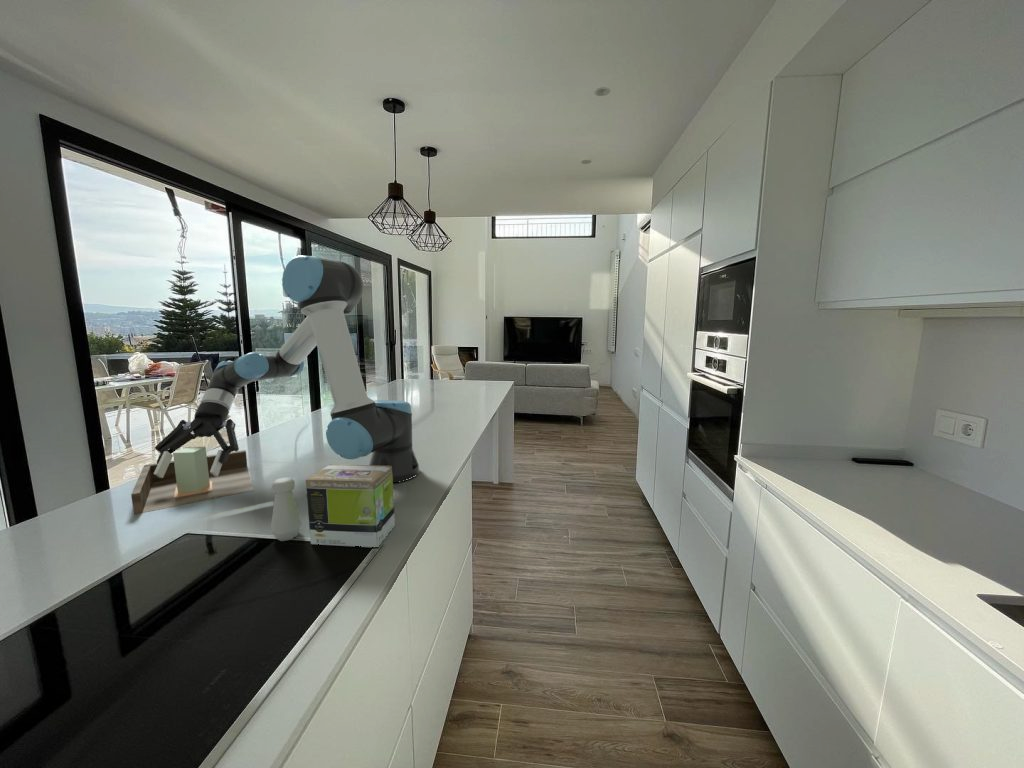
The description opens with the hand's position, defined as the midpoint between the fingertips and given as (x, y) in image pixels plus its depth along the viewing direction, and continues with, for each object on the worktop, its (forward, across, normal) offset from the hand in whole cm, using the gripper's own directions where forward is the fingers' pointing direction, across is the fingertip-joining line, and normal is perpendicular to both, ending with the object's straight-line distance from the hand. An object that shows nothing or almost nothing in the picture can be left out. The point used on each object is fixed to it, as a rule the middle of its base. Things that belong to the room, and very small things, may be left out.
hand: (186, 475), depth 108 cm
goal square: (+2, 0, -5) cm, 6 cm away
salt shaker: (+21, -35, +12) cm, 43 cm away
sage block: (+2, 0, -5) cm, 5 cm away
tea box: (+22, -49, +13) cm, 55 cm away
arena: (+1, 0, -7) cm, 7 cm away
